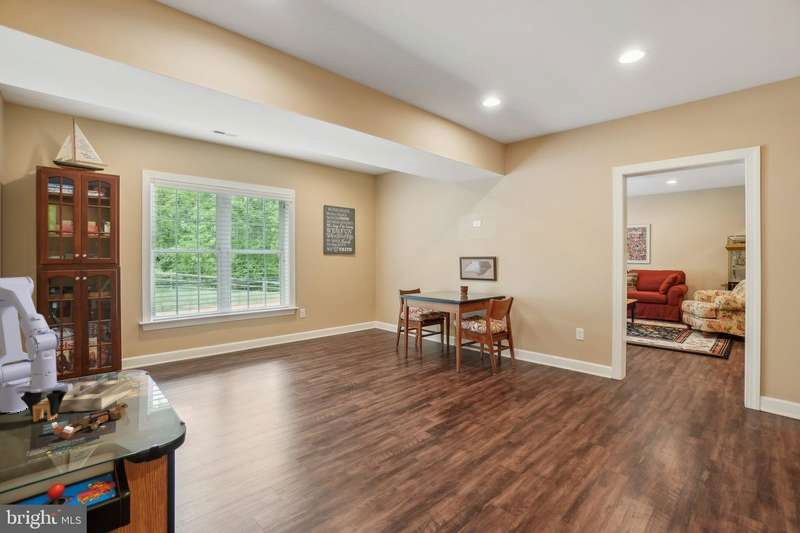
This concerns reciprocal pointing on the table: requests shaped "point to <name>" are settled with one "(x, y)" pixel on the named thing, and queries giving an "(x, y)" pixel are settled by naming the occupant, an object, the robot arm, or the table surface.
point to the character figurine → (90, 421)
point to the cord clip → (39, 411)
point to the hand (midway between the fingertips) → (45, 414)
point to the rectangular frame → (93, 395)
